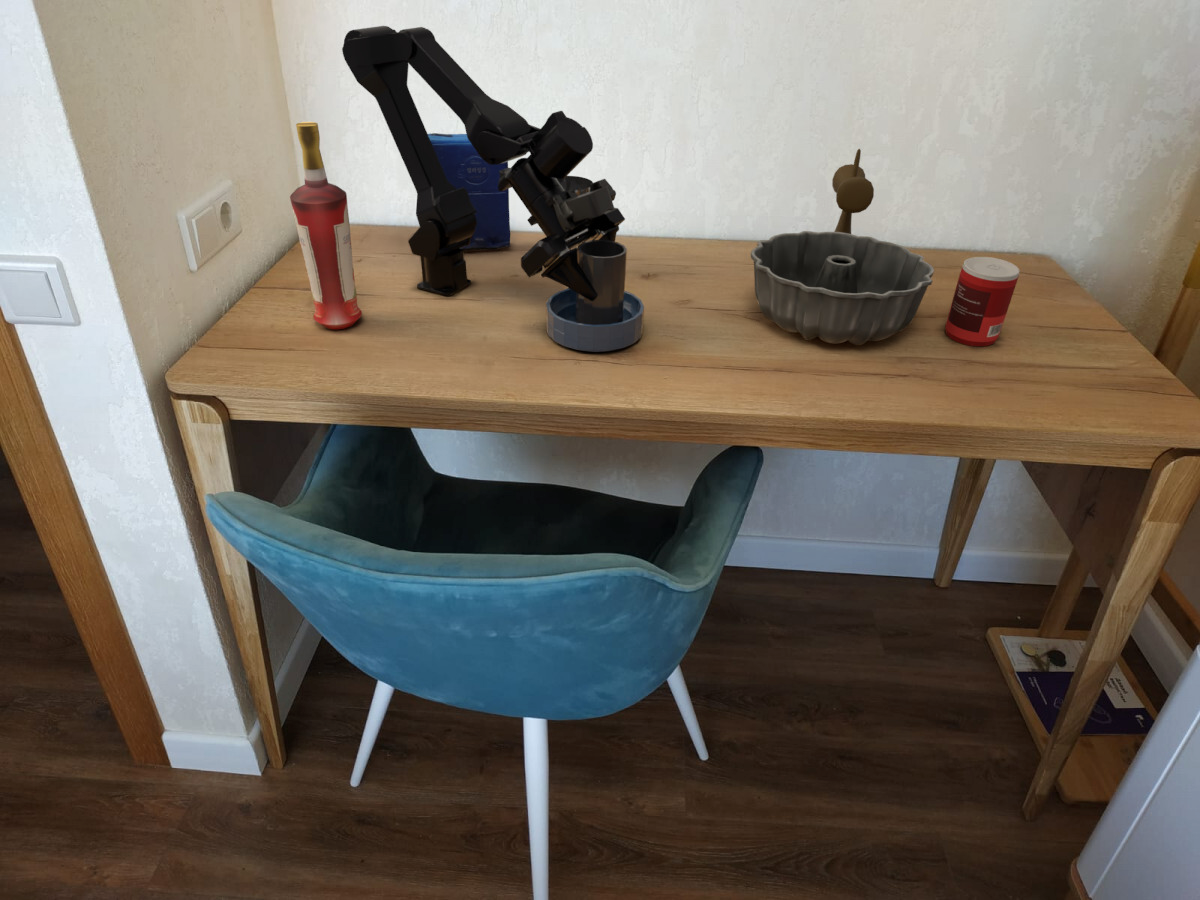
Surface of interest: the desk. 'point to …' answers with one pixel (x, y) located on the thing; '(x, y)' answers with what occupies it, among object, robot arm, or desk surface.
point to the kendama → (851, 192)
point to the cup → (602, 282)
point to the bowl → (592, 336)
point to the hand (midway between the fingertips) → (608, 290)
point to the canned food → (981, 300)
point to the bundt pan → (838, 285)
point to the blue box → (476, 189)
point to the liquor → (325, 237)
